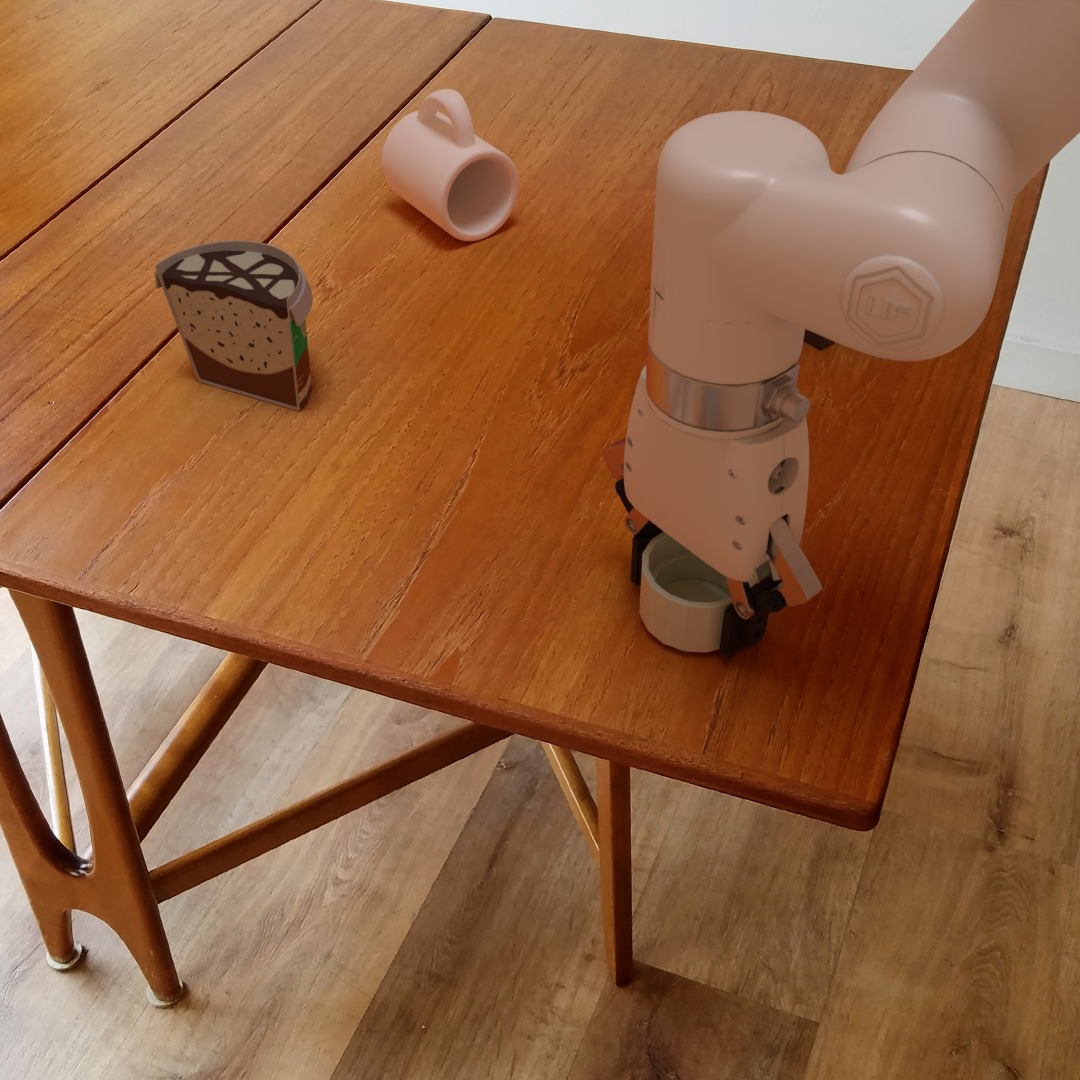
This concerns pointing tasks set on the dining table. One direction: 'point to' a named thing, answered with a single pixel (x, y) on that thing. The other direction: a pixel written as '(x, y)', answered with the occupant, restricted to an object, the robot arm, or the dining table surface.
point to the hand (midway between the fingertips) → (695, 606)
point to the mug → (450, 169)
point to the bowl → (682, 596)
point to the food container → (242, 318)
